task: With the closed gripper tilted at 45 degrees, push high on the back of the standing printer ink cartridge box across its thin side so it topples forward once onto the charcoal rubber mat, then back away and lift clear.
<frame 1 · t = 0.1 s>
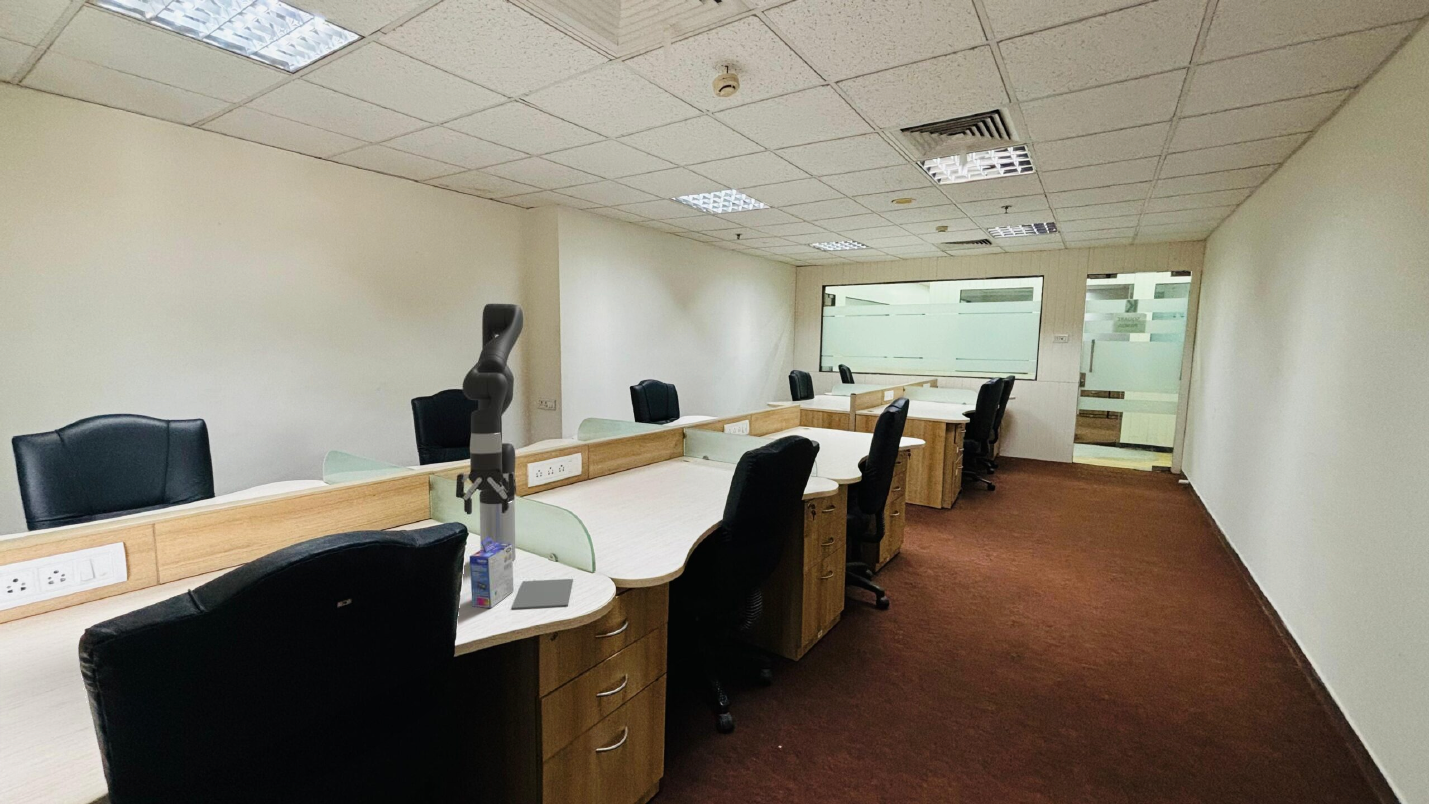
hand: (486, 513, 144), 17 cm above the table, tool pointing down, fingers open, 8 cm apart
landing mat: (544, 593, 137), on the table
ink cartridge box: (492, 599, 134), on the table
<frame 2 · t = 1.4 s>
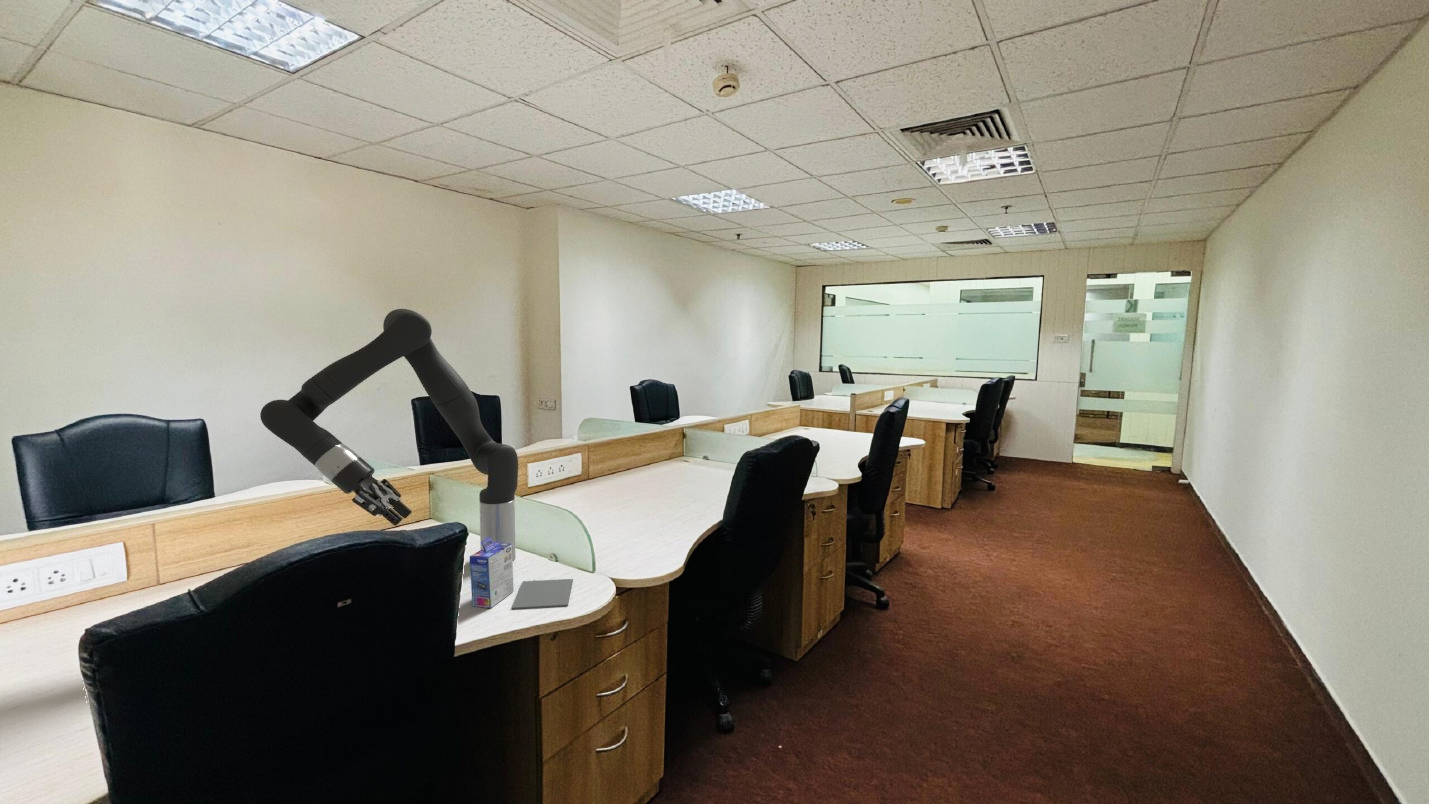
hand: (403, 518, 129), 20 cm above the table, tool tilted 45°, fingers open, 5 cm apart
nothing on the table moved.
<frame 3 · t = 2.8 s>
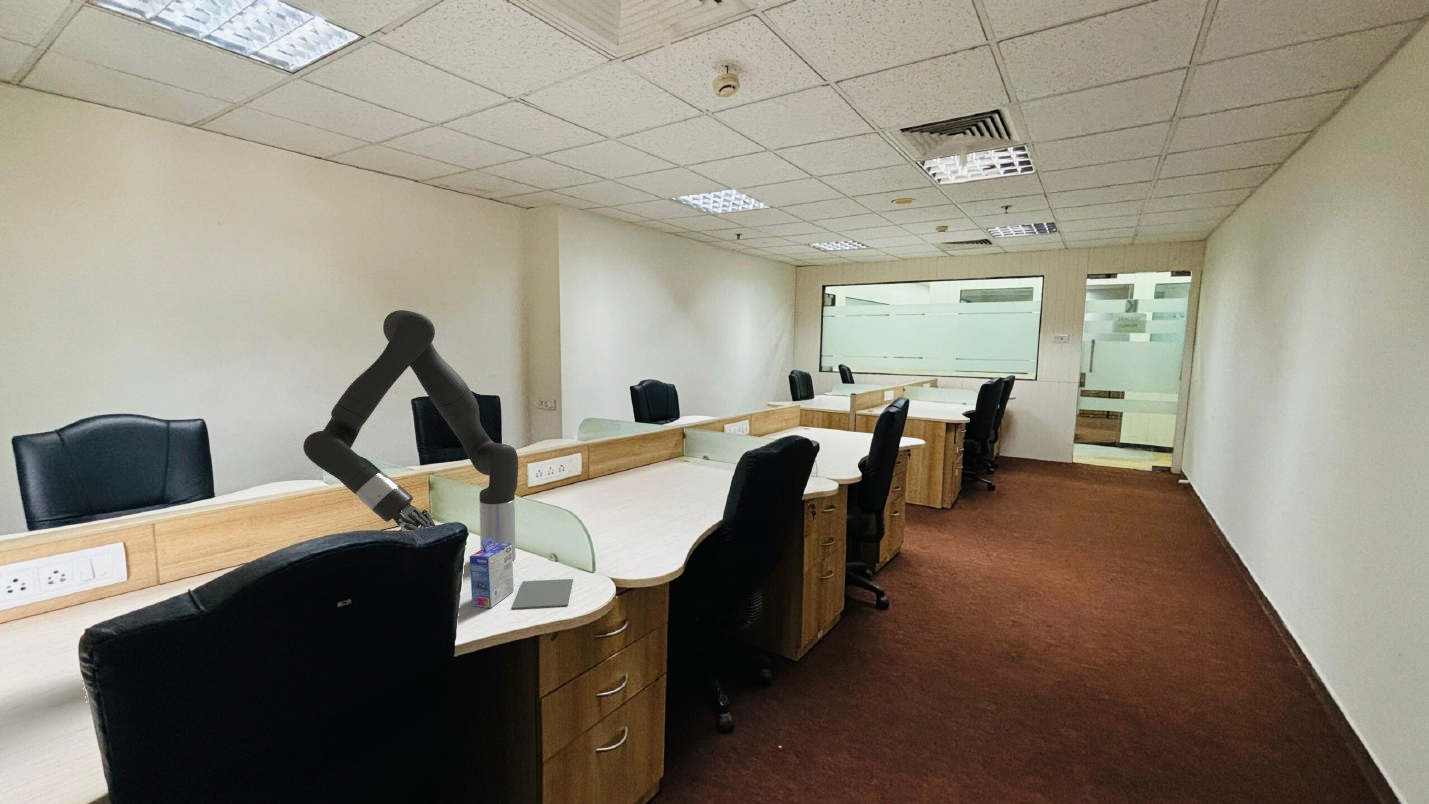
hand: (443, 546, 131), 13 cm above the table, tool tilted 45°, fingers closed
nothing on the table moved.
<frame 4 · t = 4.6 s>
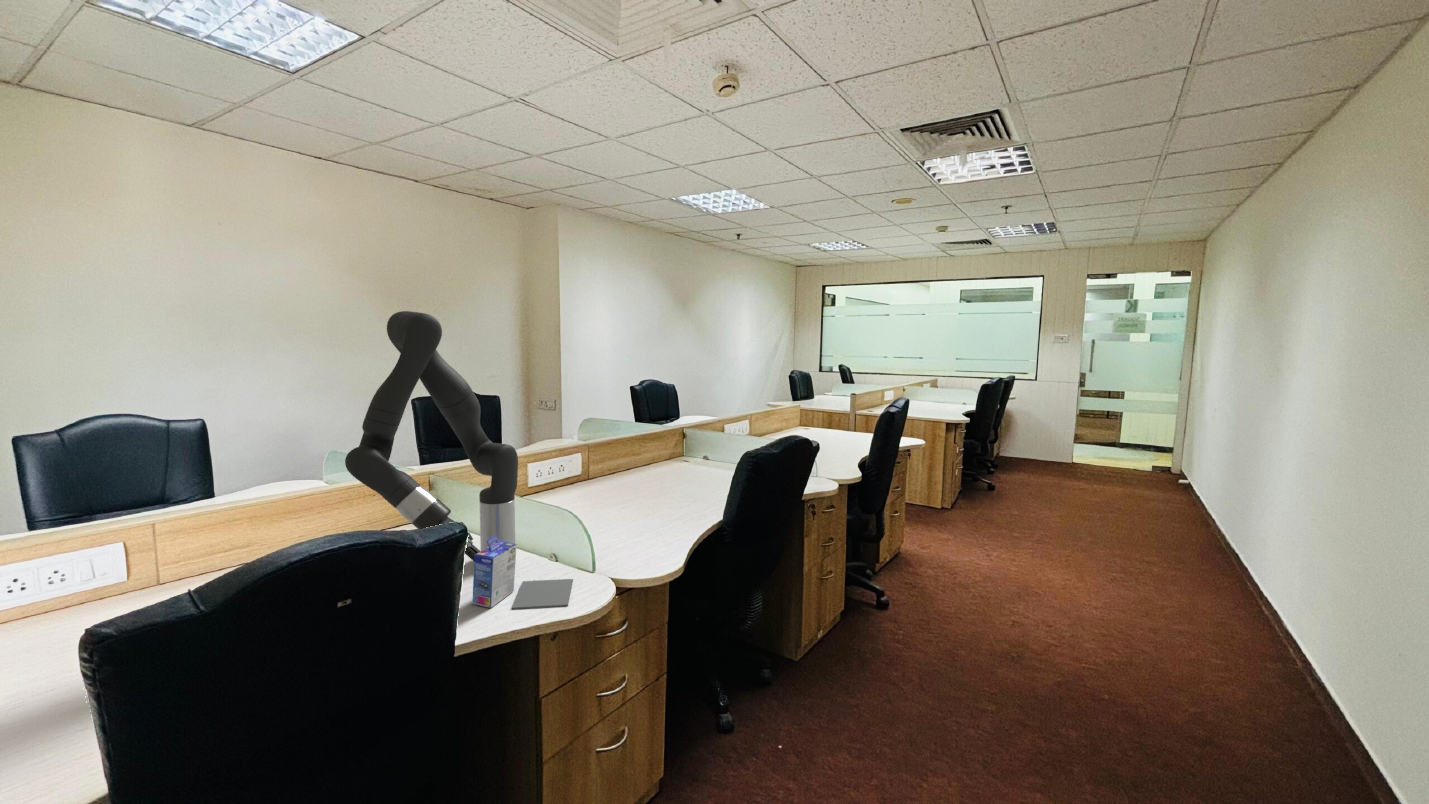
hand: (480, 558, 133), 10 cm above the table, tool tilted 45°, fingers closed
ink cartridge box: (492, 598, 134), on the table, touching gripper
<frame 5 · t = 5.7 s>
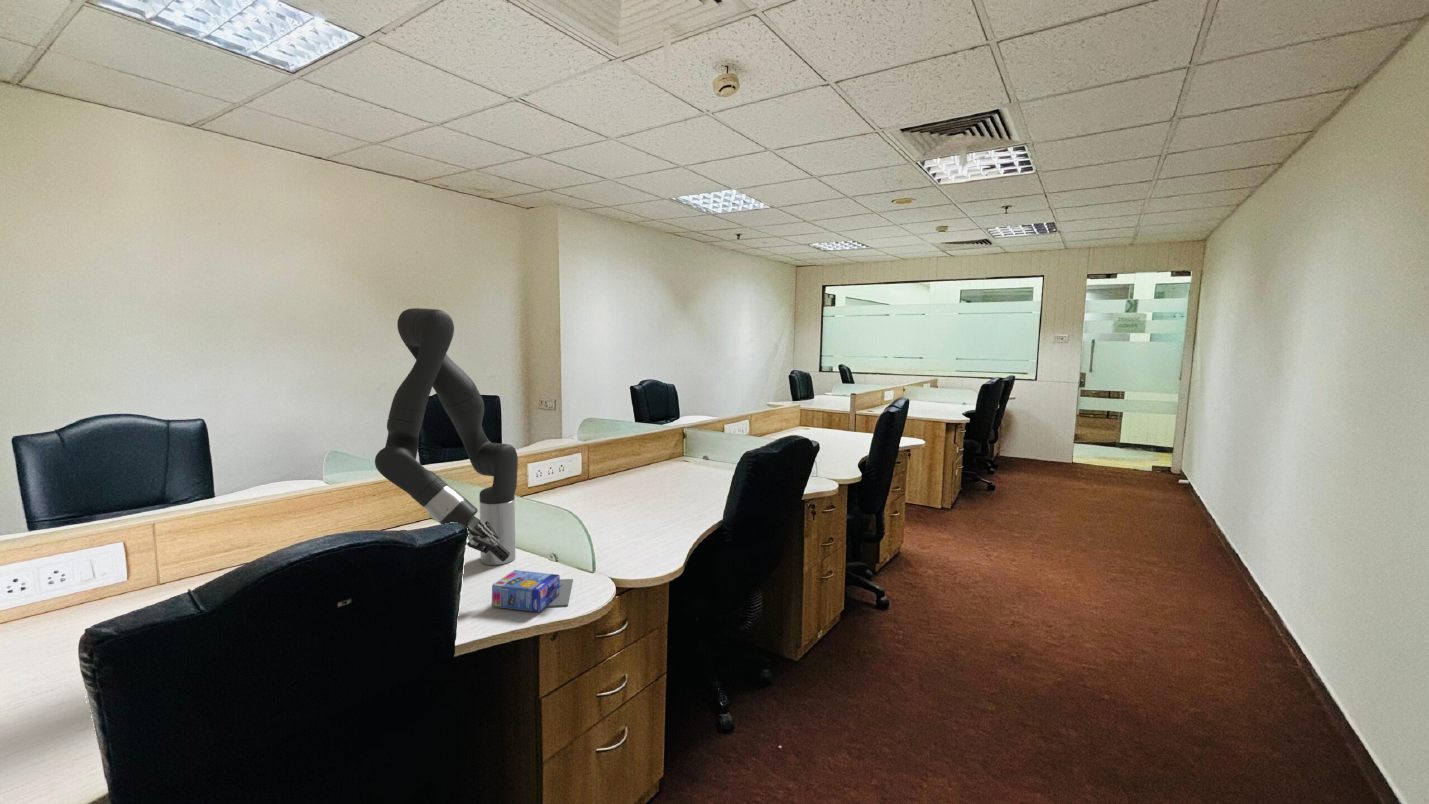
hand: (506, 557, 134), 10 cm above the table, tool tilted 45°, fingers closed
ink cartridge box: (502, 586, 133), point 3 cm above the table, touching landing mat
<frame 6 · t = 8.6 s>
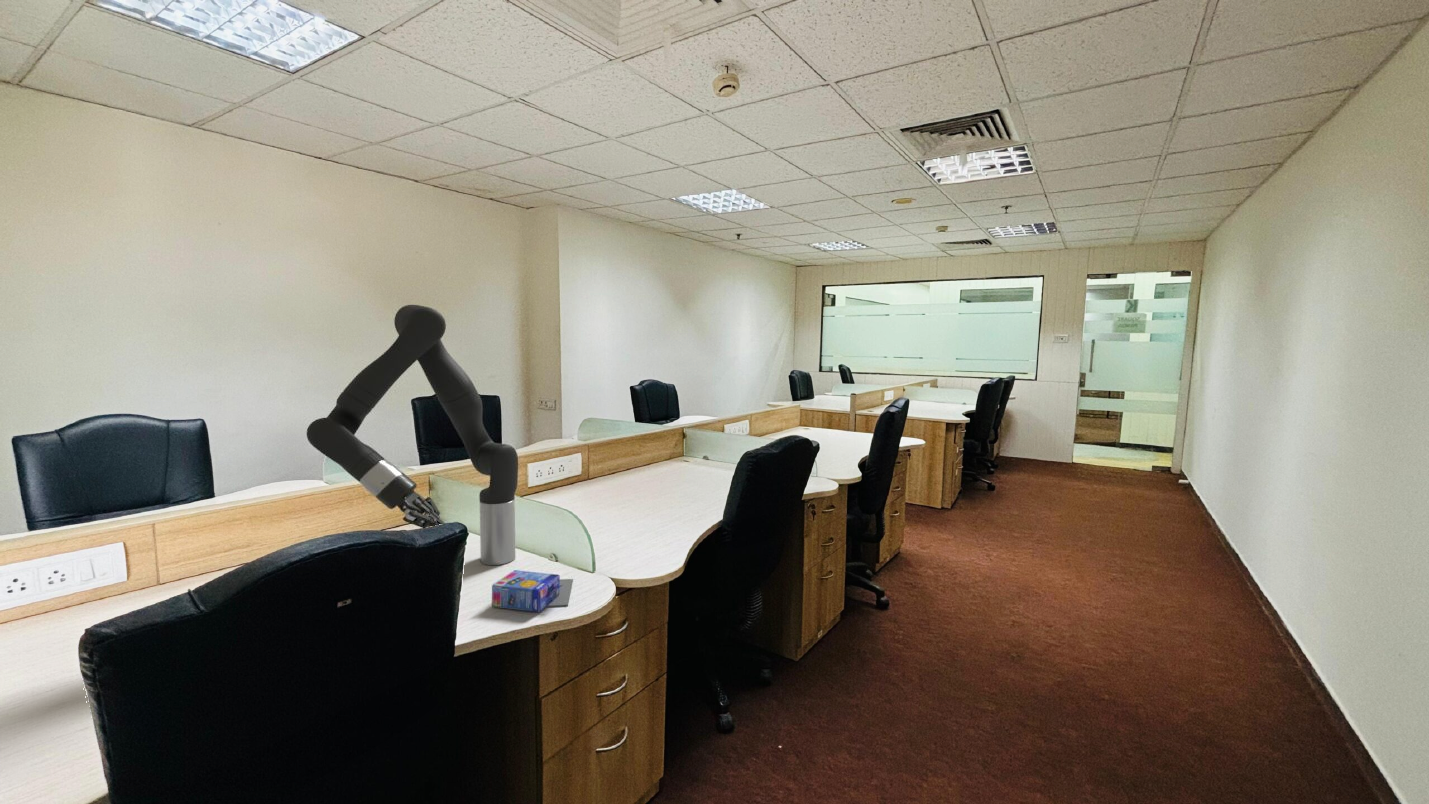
hand: (447, 533, 131), 16 cm above the table, tool tilted 45°, fingers closed
nothing on the table moved.
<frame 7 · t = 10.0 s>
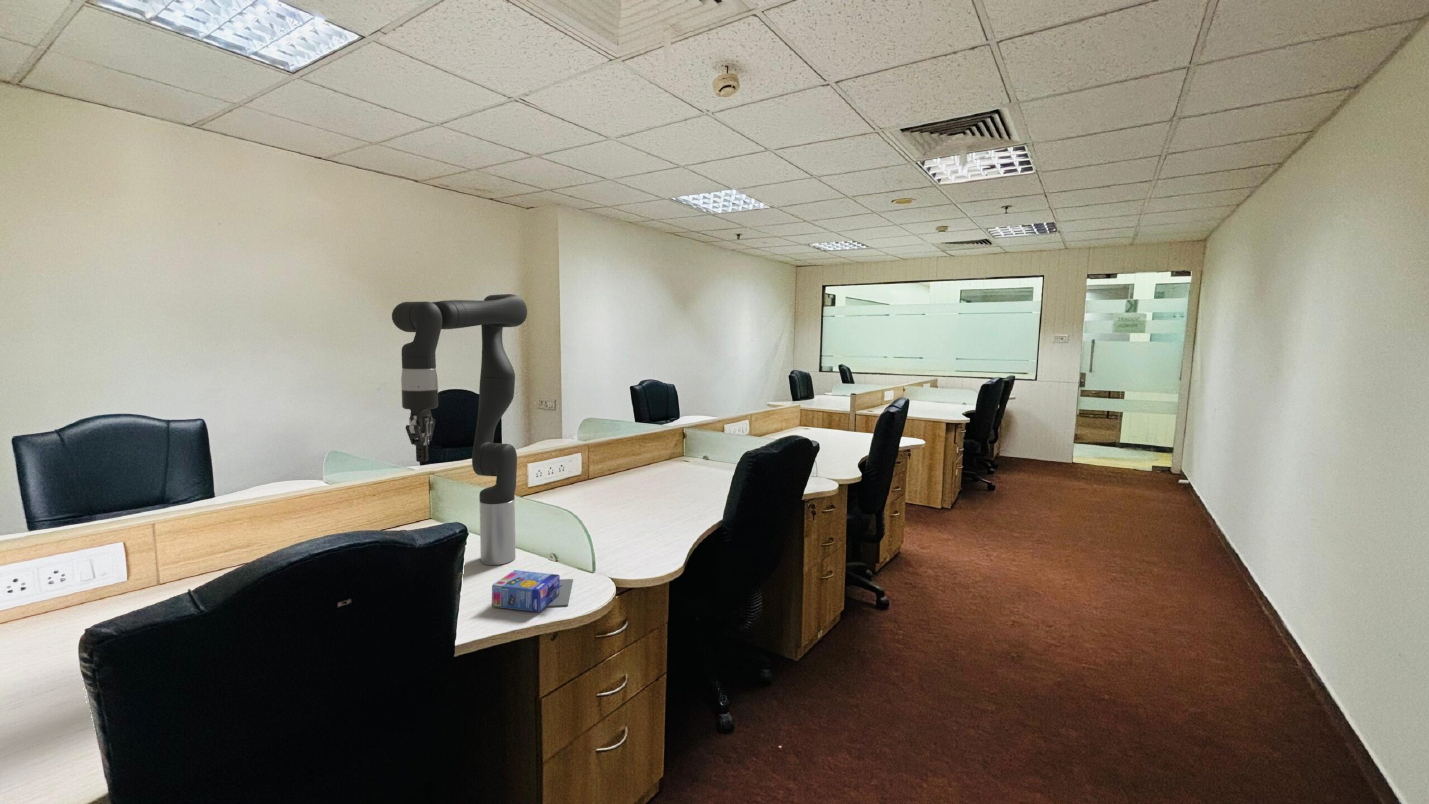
hand: (422, 461, 132), 33 cm above the table, tool pointing down, fingers closed
nothing on the table moved.
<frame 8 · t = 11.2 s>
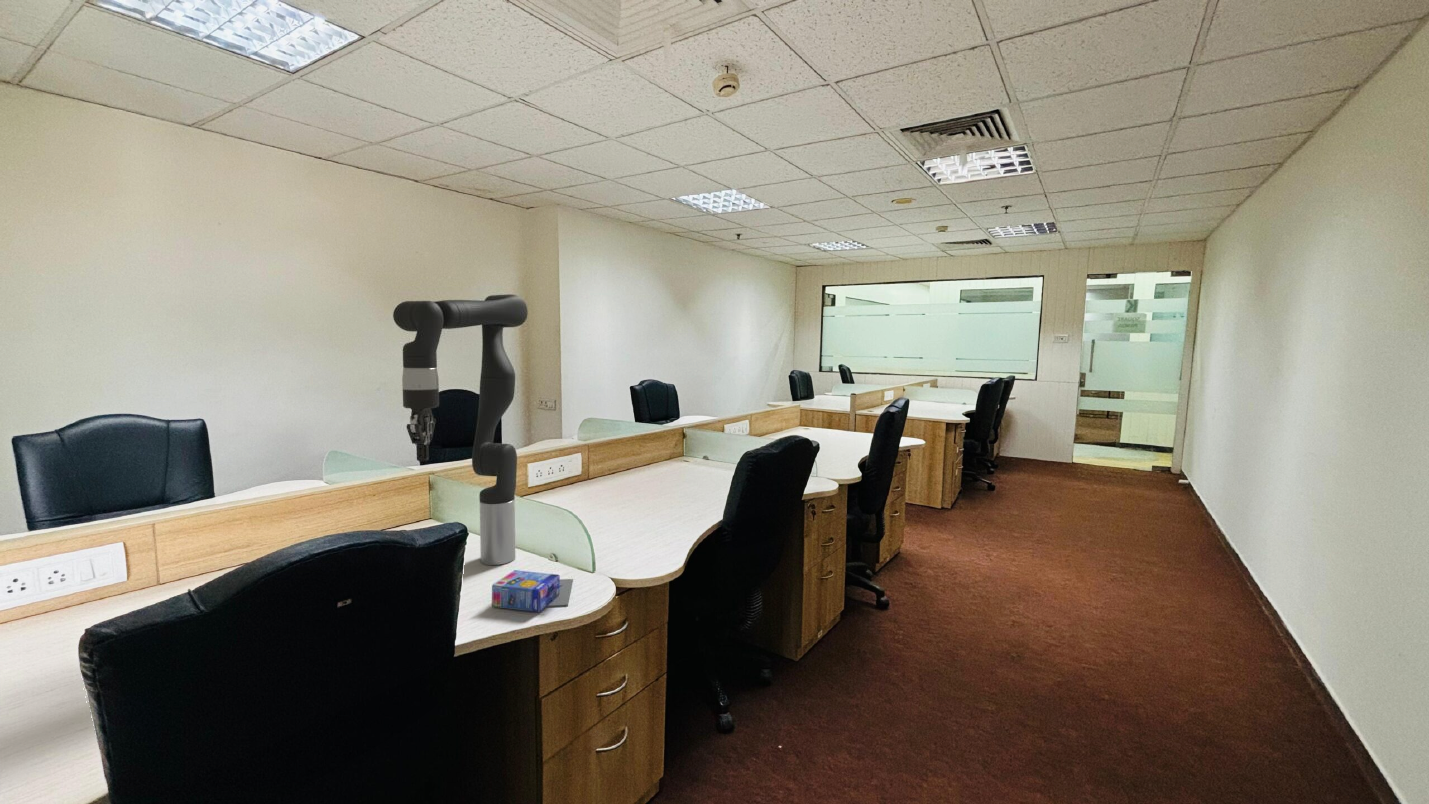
hand: (422, 460, 132), 33 cm above the table, tool pointing down, fingers closed
nothing on the table moved.
at the end: ink cartridge box tilted 91°; ink cartridge box inside the target area (2.8 cm from its centre), point 3.2 cm above the table; ink cartridge box touching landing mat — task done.
